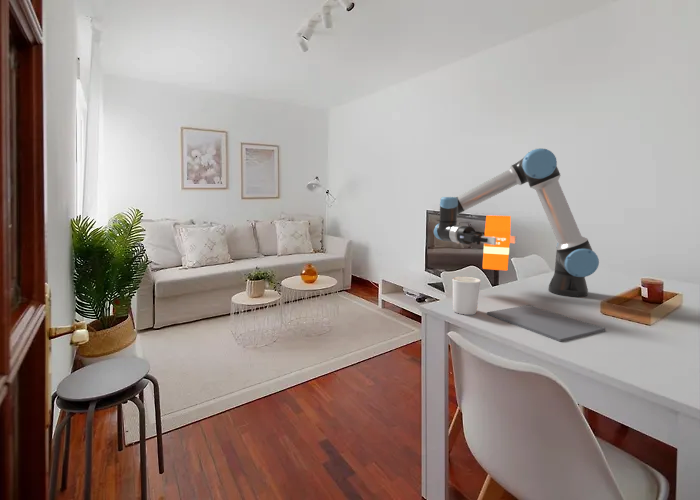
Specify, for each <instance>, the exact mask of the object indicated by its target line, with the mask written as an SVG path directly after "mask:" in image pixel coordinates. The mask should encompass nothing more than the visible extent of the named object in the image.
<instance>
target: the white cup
mask: <svg viewBox="0 0 700 500" xmlns="http://www.w3.org/2000/svg"><path fill="white" fill-rule="evenodd" d="M451 281H452V311H453V312H454V313H456V314H458V313H459V314H458V315H463V314H464V316H465V315H466V316H471V315H475V314H476V313H477V310H478V304H479V295H480V287H481V282H482V280H481V279H479V278H478V277H477V278H476V277H471V276H454V277H453V278H452V280H451Z"/></svg>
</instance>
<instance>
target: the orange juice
mask: <svg viewBox="0 0 700 500" xmlns="http://www.w3.org/2000/svg"><path fill="white" fill-rule="evenodd" d="M511 219H512V218H511V215H486V217H485V225H484V226H485V228H484V232H485V235H484V236H488V237H495V238H496V245H491V244H484V243H483V253H482V254H483V255H482V269H483V270H491V271H492V270H493V271H494V270H495V271H508V267H509V258H510V257H509V255H510V244H511V243H510V236H511V224H512V223H511V221H512V220H511Z"/></svg>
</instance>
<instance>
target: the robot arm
mask: <svg viewBox="0 0 700 500" xmlns="http://www.w3.org/2000/svg"><path fill="white" fill-rule="evenodd" d="M557 165H558V162H557V157H556V155H555V154H554V152H552V151H551V150H549V149H548V148H547V149H546V148H535V149H532V150H530V151H528V153H526V154H525V156H523V158H521V159H520V160H519V161H517V162H515V163H513V164H511V165H510V166H509V169H507V170H505V171H503V172H501V173H500V174H498V175H496V176H494V177H492V178H489V180H487V181H484V182H483V183H481V184H479V185H477V186H475V187H473V188H471V189H469V190H467V191H465V192H463V193H462V194H459V195H458V196H454V197H453V196H442V197H441V198H440V201H439V222H438V223H437V224H436V225H435V227H434V229H433V235H434V237H435V238H436V239H438V240H440V241H444V242H450V243H456V244H457V245H459V244H462V245H471V244H475V243H476V245H477V246H478V245H481V244H483V245H484V244H491V245H496V238H495V237H488V236H484V235H485V231H484V232H483V231H477V230H475V228H474V227H473V226H468V225H461V224H458V223H457V222H458V215H459V214H462V213H463V212H465V211H467V210H469V209H471V208H473V207H476V206H477V205H479V204H481V203H483V202H485V201H487V200H489V199H491V198H492V197H495V196H497V195H499V194H501V193H503V192H504V191H507V190H509V189H510V188H512V187H514V186H517V185H518V186H522V185H524V184H526V183H528V185H529V188H531V189H532V190H533V189H534V190H535V191H536V193H537V197H538V198H539V201H540V203H541V205H542V208H543V210H544V213H545V215H546V218H547V220H548V222H549V224H550V226H551V230H552V231H553V233H554V236H555V239H556V241H557V244H556V246H555V247H556V248H555V250H556V251H555V254H556V255H555V264H554V273H553V276H552V278H551V281H550V283H549V284H548V291H549V292H550V293H553V294H556V295H559V296H565V297H575V298H576V297H577V298H579V297H580V298H581V297H586V296H588V294H589V293H588V292H589V289H588V284H587V282H586V277H589V276H591V275H592V274H594V273H595V272H596V271H597V270H598V269H599V264H600V260H599V256H598V255H597V253H596V252H595V251H593V249H592V246H591V244H590V242H589V239H588V238H587V237H585V236H583V235H582V234H581V232H580V229H579V227H578V224H577V222H576V220H575V217H574V215H573V212H572V211H571V208H570V206H569V204H568V201H567V199H566V196H565V193H564V191H563V189H562V187H561V185H560V182H559V180H560V178H561V173H560V170H559V167H558V166H557ZM510 244H513V245H514V244H517V235H516V236H515V235H510Z"/></svg>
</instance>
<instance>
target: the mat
mask: <svg viewBox="0 0 700 500" xmlns="http://www.w3.org/2000/svg"><path fill="white" fill-rule="evenodd" d="M486 315H487V316H491V317H493V318H496V319H498V320H501V321H504V322H507V323H509V324H512V325H514V326H517V327H520V328H521V329H522V328H523V329H525V330H528V331H530V332H533V333H536V334H537V335H538V334H539V335H541V336H544V337H545V338H550V339H552V340H554V341H558V342H560V343H561V342H565V341H568V340H573V339H576V338H580V337H585V336H589V335H593V334H596V333H601V332H604V331H606V328H605V327H602V326H600V325H596V324H592V323H589V322H586V321H583V320H581V319H580V320H579V319H577V318H573V317H571V316H567V315H564V314H562V313H561V314H560V313H556V312H553V311H550V310H547V309H544V308H540V307H537V306H534V305H531V304H527V305H522V306H520V305H519V306H515V307H509V308H504V309H498V310H492V311H487V312H486Z"/></svg>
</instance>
